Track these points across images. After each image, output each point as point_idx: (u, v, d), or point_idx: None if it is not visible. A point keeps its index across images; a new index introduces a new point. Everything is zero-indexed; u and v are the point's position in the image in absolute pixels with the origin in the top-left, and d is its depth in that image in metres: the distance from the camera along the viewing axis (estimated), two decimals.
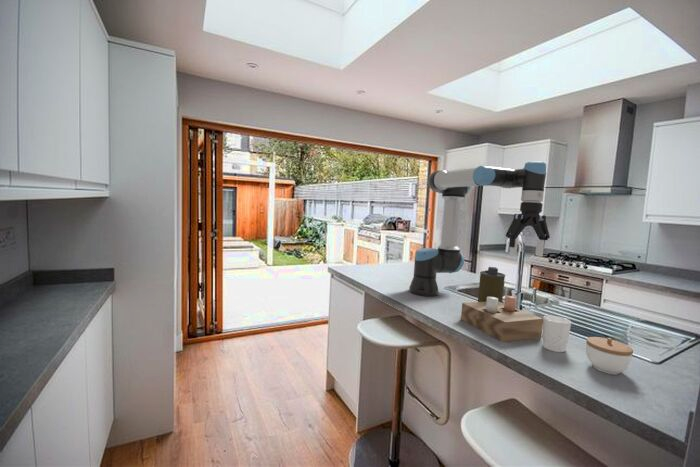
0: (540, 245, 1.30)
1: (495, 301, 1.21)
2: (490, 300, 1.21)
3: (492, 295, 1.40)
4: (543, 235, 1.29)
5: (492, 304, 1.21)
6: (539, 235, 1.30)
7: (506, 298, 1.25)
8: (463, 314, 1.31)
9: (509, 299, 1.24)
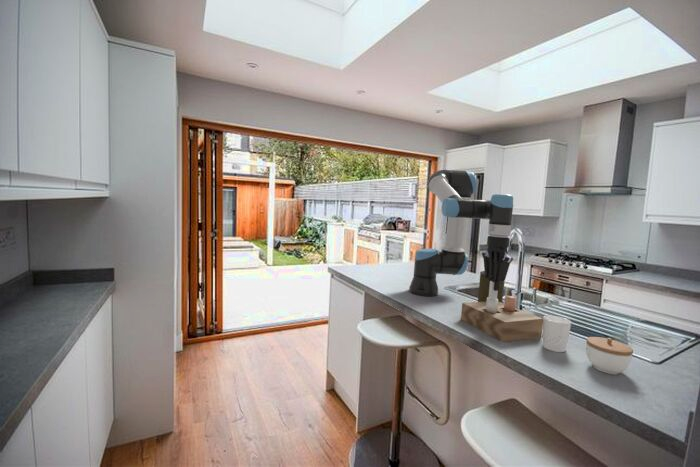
0: None
1: (495, 302, 1.21)
2: (490, 301, 1.21)
3: None
4: (494, 276, 1.20)
5: (492, 305, 1.21)
6: None
7: (506, 298, 1.25)
8: (463, 314, 1.31)
9: (509, 299, 1.24)
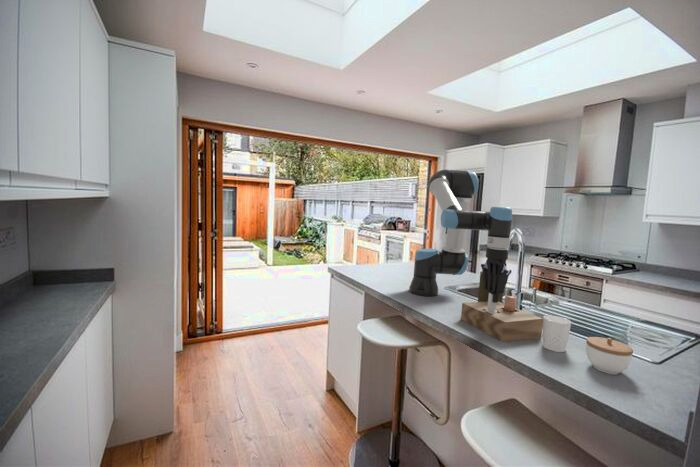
0: None
1: None
2: (489, 312, 1.21)
3: None
4: (493, 288, 1.20)
5: None
6: None
7: (506, 298, 1.25)
8: (463, 314, 1.31)
9: (509, 299, 1.24)
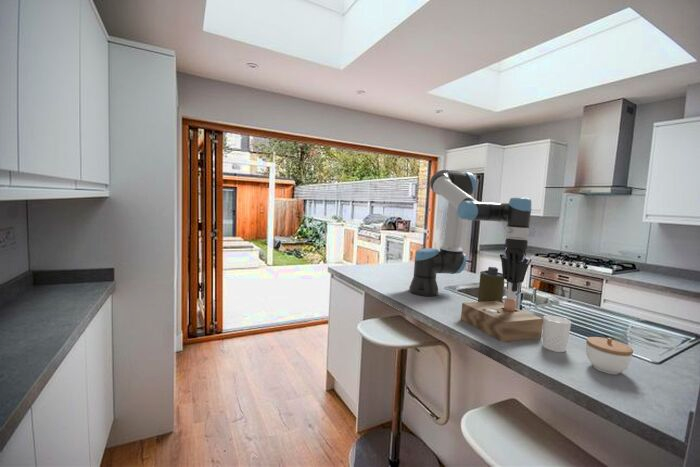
0: None
1: None
2: (489, 312, 1.21)
3: (492, 295, 1.40)
4: (513, 277, 1.23)
5: None
6: None
7: (506, 300, 1.25)
8: (463, 314, 1.31)
9: (509, 301, 1.24)
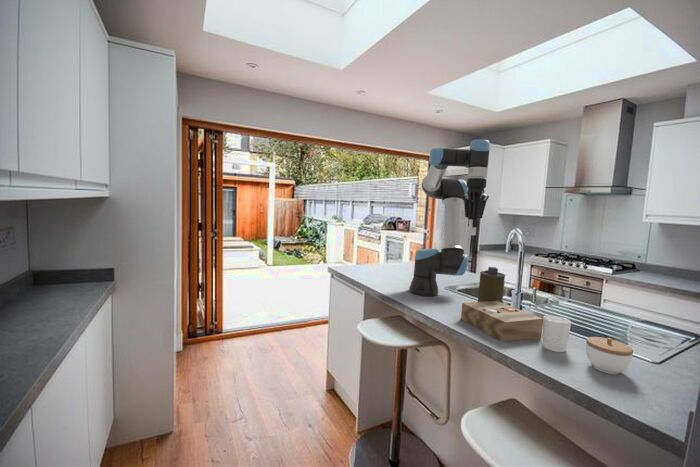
0: None
1: None
2: (489, 312, 1.21)
3: (492, 295, 1.40)
4: (473, 214, 1.34)
5: None
6: None
7: None
8: (463, 314, 1.31)
9: (508, 311, 1.24)
